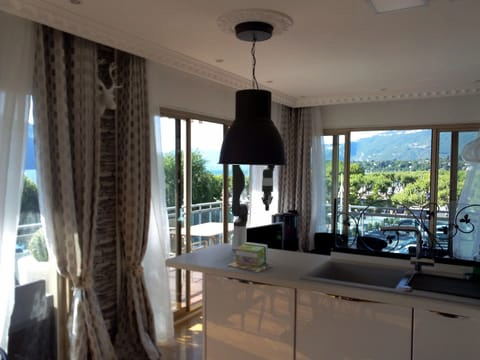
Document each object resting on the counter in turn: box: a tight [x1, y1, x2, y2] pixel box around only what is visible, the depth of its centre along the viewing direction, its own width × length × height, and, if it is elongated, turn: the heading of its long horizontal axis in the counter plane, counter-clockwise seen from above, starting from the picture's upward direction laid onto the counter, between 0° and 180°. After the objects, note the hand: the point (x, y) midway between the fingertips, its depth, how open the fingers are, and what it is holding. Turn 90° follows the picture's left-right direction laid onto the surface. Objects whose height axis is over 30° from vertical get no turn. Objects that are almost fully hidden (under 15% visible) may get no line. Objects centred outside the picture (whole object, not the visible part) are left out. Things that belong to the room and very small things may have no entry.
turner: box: [254, 264, 273, 273], centre depth 236 cm, size 16×4×1 cm, turn 149°
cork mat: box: [227, 261, 268, 272], centre depth 243 cm, size 18×16×2 cm
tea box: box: [235, 241, 269, 267], centre depth 246 cm, size 15×10×15 cm
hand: (267, 210), depth 267 cm, fingers closed
